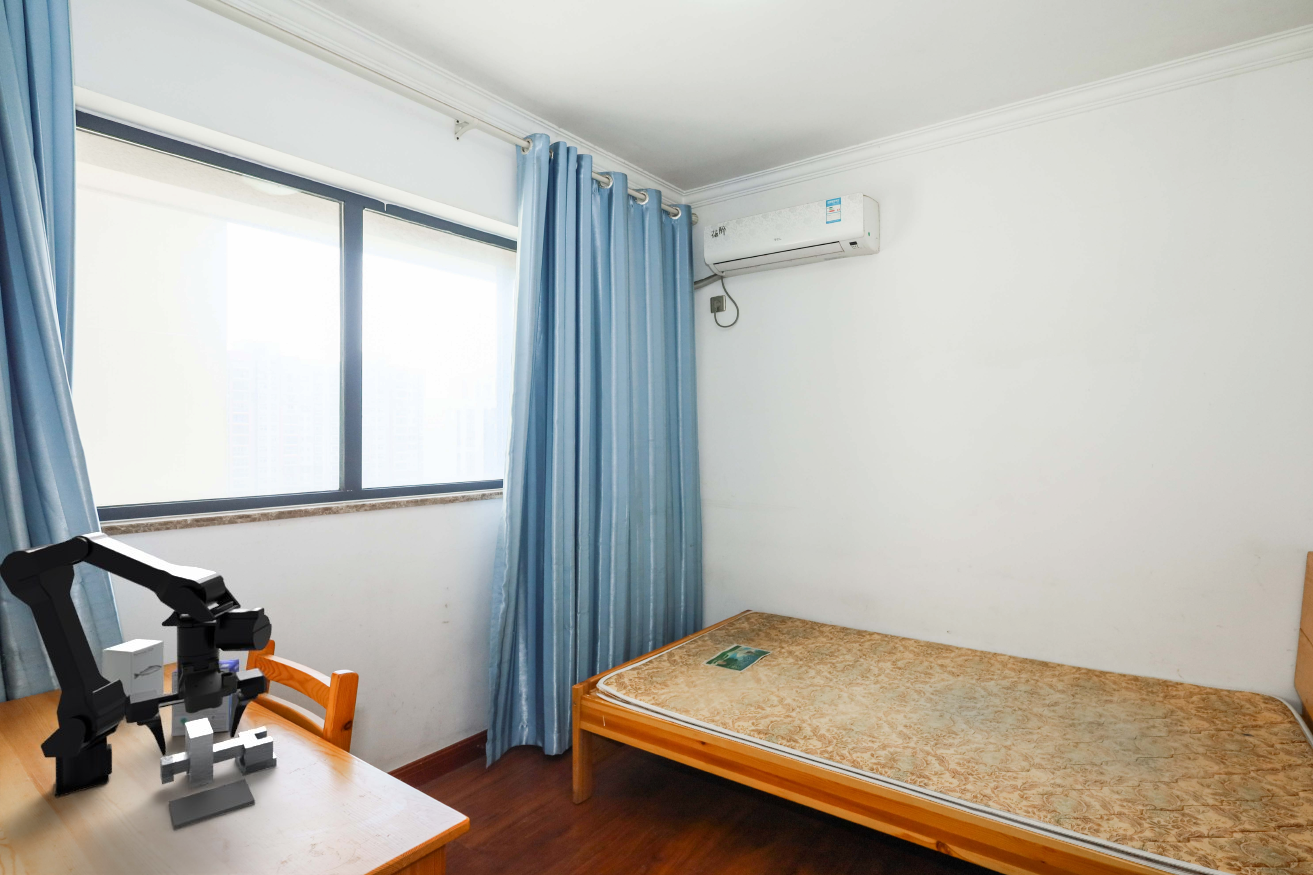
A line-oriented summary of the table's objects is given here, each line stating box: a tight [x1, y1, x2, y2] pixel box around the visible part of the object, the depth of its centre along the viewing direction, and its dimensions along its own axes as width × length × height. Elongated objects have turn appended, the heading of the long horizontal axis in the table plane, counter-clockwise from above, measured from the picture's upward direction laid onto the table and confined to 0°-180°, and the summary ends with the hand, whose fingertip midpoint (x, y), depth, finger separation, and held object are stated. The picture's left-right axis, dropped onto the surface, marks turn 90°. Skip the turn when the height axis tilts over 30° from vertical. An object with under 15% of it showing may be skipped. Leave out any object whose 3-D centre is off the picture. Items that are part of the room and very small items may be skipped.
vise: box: [159, 725, 278, 785], centre depth 110 cm, size 16×7×4 cm, turn 131°
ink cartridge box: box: [170, 649, 240, 737], centre depth 126 cm, size 10×6×14 cm, turn 104°
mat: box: [168, 778, 256, 831], centre depth 101 cm, size 10×8×1 cm
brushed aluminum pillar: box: [184, 718, 214, 789], centre depth 108 cm, size 3×7×8 cm, turn 41°
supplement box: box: [101, 638, 165, 697], centre depth 136 cm, size 7×7×13 cm
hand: (199, 745), depth 108 cm, fingers open, 9 cm apart
